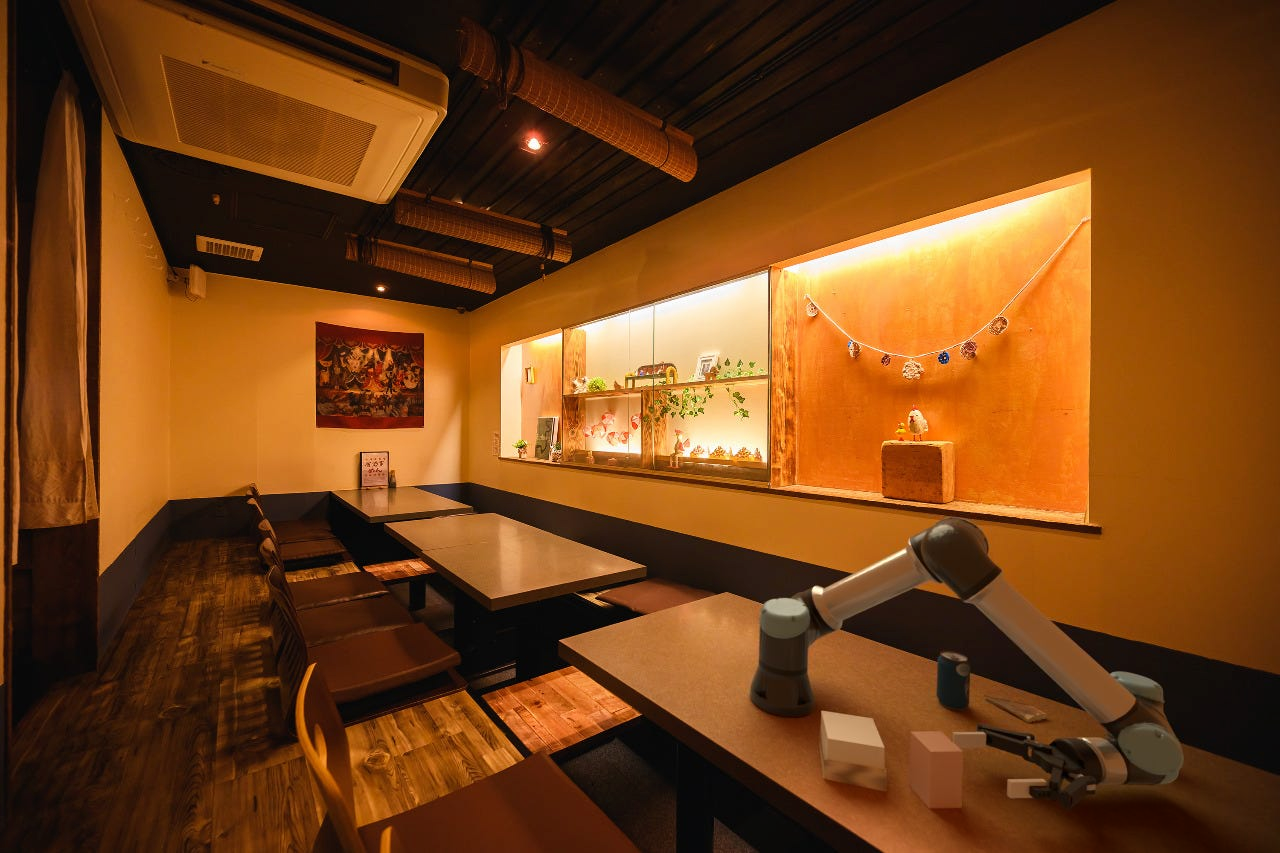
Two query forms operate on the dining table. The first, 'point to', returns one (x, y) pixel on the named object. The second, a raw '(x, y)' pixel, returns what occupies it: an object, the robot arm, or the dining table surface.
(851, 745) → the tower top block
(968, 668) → the soda can
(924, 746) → the tall block
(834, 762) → the tower base block
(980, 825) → the dining table surface
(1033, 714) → the shard
